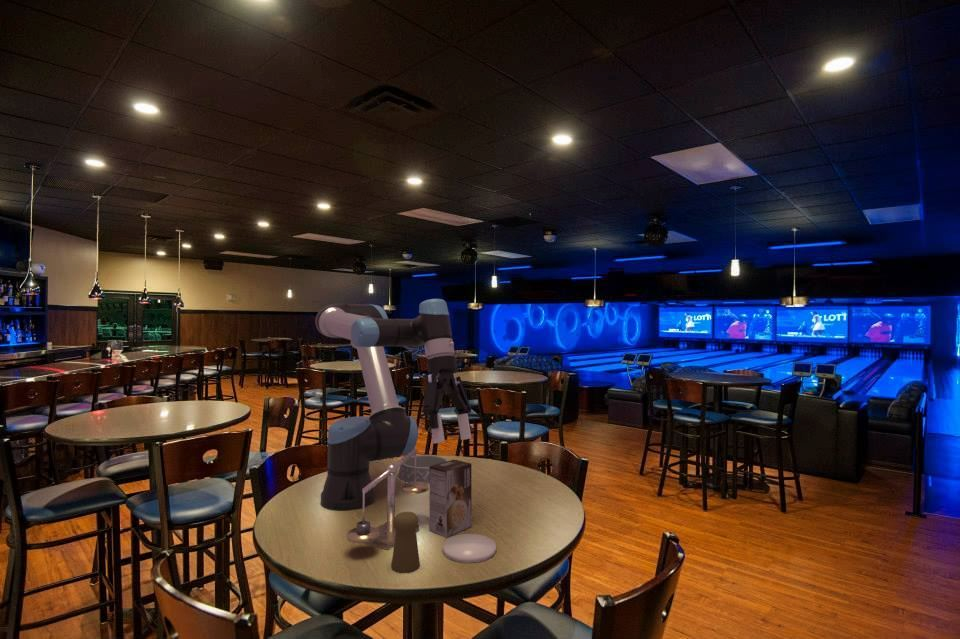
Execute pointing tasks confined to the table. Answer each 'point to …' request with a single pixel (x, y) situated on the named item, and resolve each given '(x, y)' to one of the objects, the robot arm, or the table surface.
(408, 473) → the dog bowl
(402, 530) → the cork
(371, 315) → the robot arm
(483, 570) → the table surface
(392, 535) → the balance
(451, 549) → the dish
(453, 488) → the coffee box
